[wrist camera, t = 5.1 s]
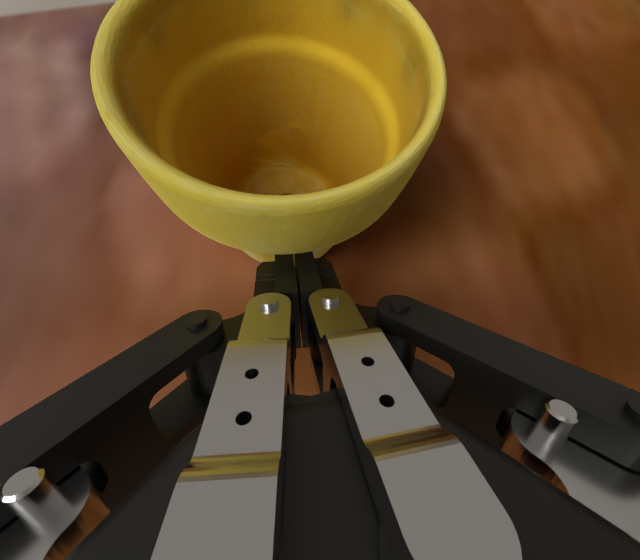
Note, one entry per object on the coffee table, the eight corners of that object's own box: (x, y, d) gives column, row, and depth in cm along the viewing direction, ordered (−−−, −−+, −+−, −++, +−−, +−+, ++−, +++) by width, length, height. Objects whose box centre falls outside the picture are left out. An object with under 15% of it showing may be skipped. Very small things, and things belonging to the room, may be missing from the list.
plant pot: (247, 118, 20) (207, -106, 10) (393, 180, 19) (488, 7, 10) (161, 252, 17) (-6, 108, 7) (331, 328, 16) (383, 280, 7)
